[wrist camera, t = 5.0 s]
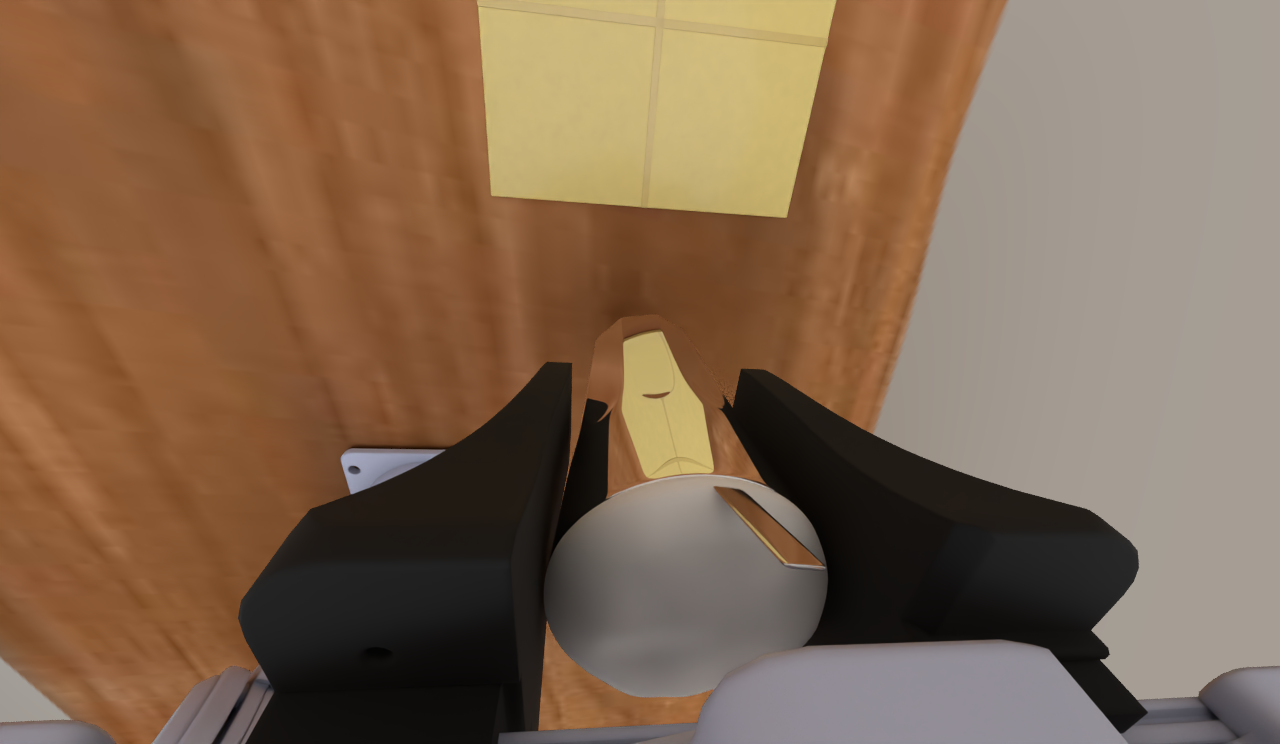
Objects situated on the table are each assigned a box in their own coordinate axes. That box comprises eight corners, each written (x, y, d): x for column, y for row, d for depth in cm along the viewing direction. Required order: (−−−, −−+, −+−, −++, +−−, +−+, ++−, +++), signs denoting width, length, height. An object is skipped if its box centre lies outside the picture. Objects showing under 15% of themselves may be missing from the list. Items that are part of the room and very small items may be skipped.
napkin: (783, 216, 18) (787, 218, 17) (492, 195, 17) (490, 196, 16) (878, -202, 12) (885, -209, 12) (460, -279, 11) (456, -289, 11)
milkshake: (741, 281, 13) (1007, 584, 5) (690, 427, 16) (806, 804, 7) (587, 249, 13) (568, 546, 4) (559, 409, 15) (510, 809, 6)
